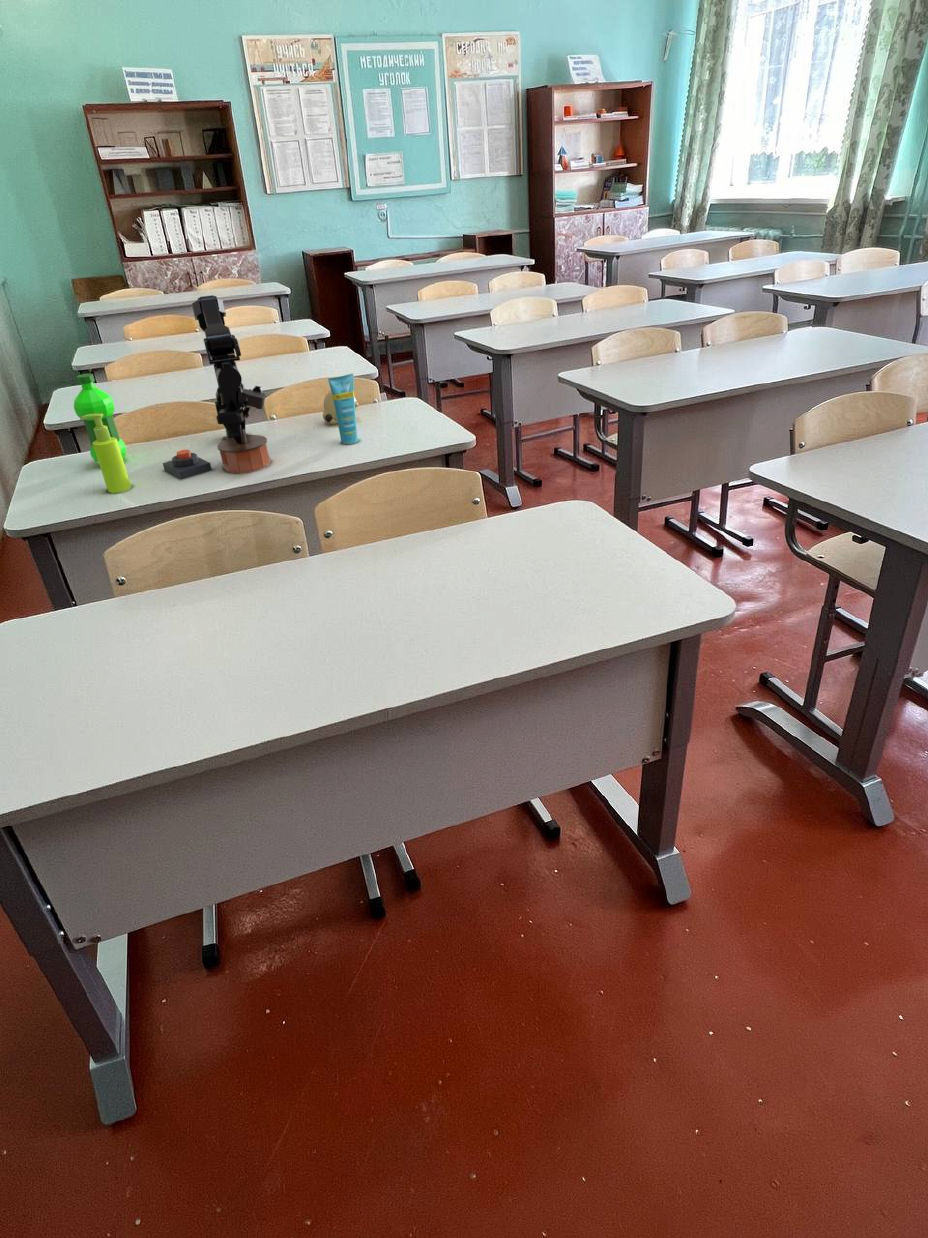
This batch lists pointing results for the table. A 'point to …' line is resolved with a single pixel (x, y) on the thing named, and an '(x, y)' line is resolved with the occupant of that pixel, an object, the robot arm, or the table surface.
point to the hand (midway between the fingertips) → (241, 439)
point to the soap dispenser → (109, 457)
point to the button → (183, 454)
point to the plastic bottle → (96, 410)
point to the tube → (344, 407)
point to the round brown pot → (246, 460)
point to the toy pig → (331, 409)
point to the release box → (187, 466)
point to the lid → (247, 443)
